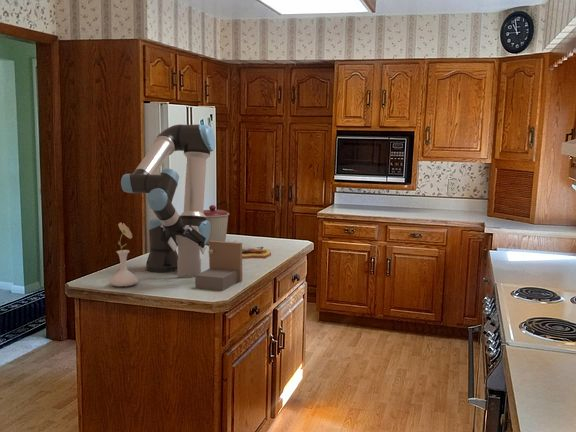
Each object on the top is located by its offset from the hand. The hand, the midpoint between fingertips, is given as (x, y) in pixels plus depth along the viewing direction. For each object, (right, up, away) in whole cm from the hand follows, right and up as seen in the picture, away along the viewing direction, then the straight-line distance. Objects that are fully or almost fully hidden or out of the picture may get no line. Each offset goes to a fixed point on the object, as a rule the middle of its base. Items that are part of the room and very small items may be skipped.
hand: (189, 249), depth 252 cm
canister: (0, -1, +74) cm, 74 cm away
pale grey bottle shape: (0, -12, +1) cm, 12 cm away
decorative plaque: (+18, -6, +46) cm, 50 cm away
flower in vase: (-24, -13, -12) cm, 31 cm away
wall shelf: (+13, -13, -12) cm, 22 cm away
